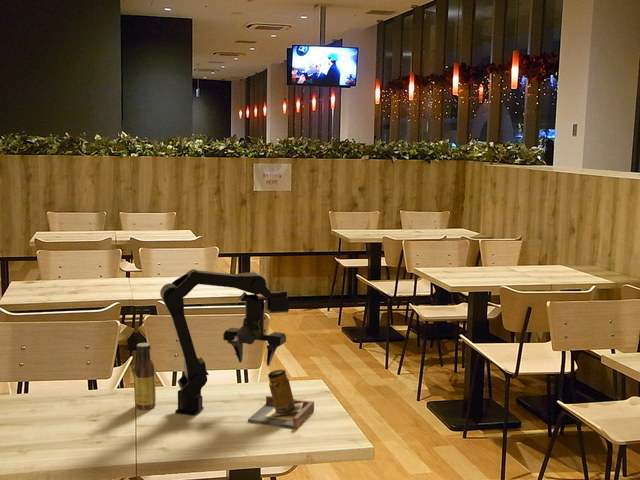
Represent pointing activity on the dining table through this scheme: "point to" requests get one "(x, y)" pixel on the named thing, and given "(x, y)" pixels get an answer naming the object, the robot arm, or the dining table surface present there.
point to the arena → (285, 420)
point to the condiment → (282, 393)
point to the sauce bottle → (144, 378)
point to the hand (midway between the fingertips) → (254, 363)
